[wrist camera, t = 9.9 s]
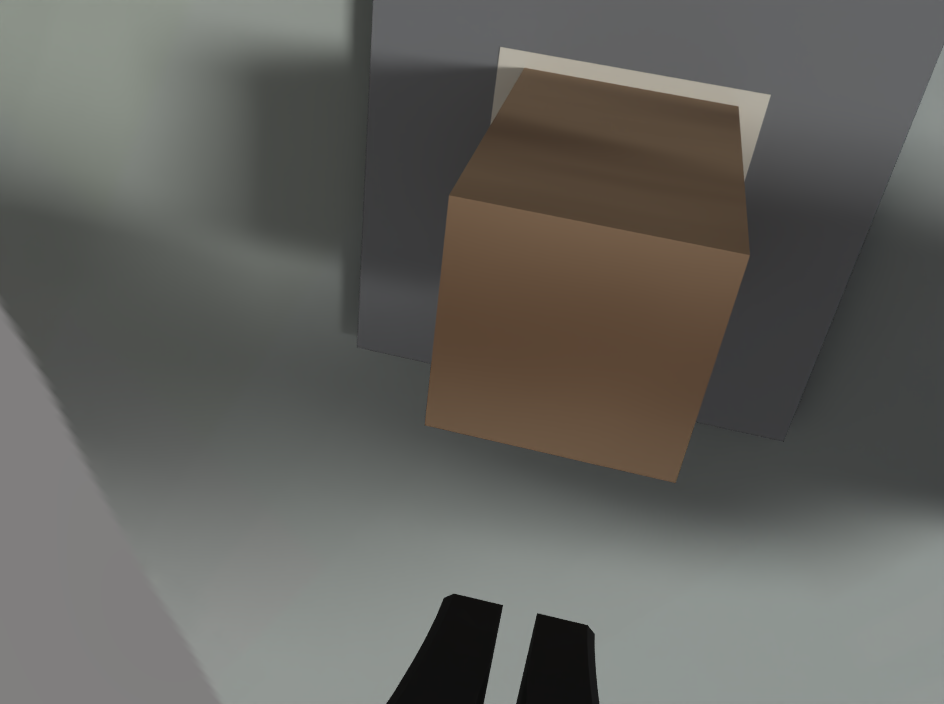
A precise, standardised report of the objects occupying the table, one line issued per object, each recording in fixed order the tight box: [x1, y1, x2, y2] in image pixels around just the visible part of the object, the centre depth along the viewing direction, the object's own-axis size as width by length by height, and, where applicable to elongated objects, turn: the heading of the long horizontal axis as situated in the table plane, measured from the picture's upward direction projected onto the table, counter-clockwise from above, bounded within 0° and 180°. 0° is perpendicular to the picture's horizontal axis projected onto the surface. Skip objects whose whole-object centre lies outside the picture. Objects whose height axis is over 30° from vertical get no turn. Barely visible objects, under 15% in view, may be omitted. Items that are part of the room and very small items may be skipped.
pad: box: [357, 0, 944, 442], centre depth 18 cm, size 10×10×1 cm
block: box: [425, 68, 750, 483], centre depth 15 cm, size 4×4×6 cm
